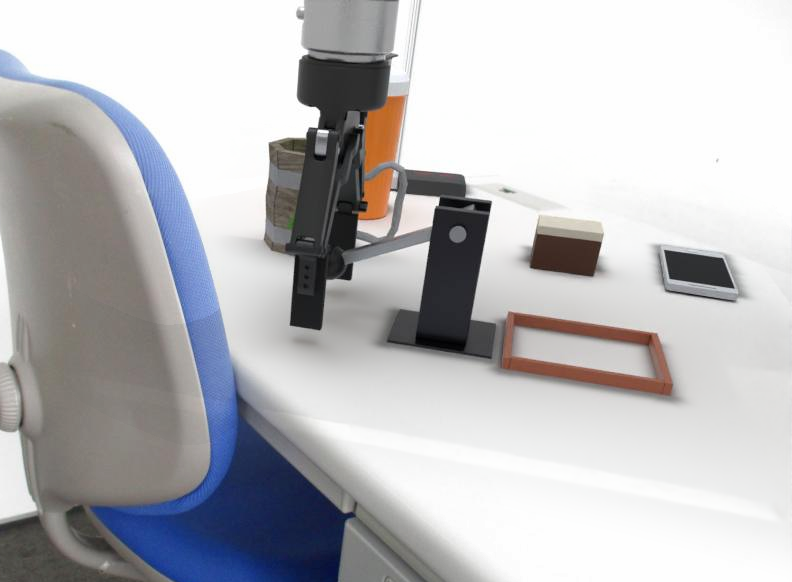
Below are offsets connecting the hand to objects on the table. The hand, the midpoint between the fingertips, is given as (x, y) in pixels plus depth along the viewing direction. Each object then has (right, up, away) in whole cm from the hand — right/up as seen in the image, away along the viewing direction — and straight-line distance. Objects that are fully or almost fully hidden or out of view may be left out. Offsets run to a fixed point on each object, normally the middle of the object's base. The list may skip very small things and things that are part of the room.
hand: (322, 301), depth 81 cm
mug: (+2, +8, +20) cm, 21 cm away
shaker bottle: (+8, +16, +37) cm, 41 cm away
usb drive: (+19, +22, +50) cm, 58 cm away
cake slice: (+29, +7, +21) cm, 37 cm away
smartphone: (+45, +5, +20) cm, 49 cm away
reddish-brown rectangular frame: (+22, -6, -4) cm, 23 cm away
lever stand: (+11, -4, -2) cm, 11 cm away
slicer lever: (+6, +3, -4) cm, 8 cm away
